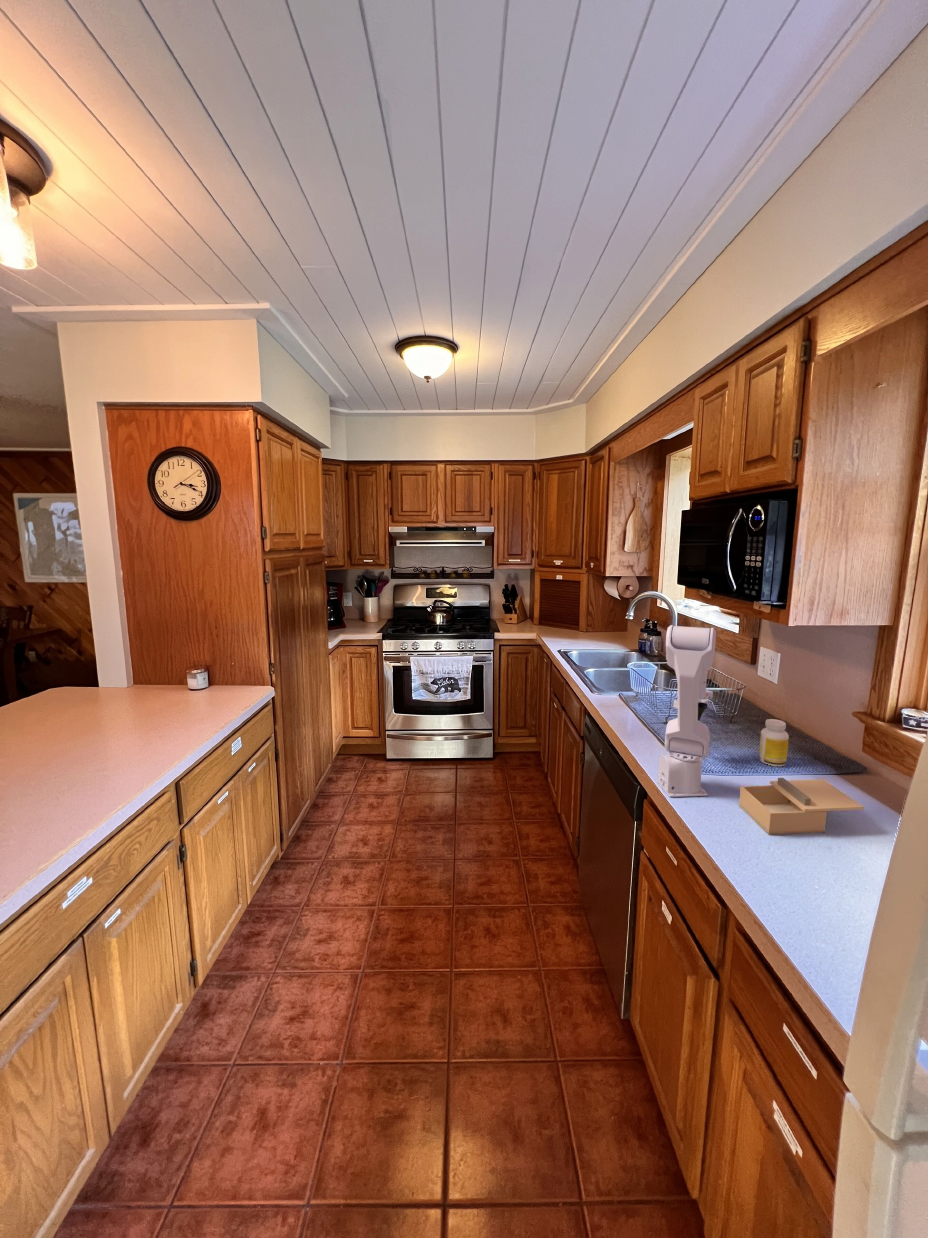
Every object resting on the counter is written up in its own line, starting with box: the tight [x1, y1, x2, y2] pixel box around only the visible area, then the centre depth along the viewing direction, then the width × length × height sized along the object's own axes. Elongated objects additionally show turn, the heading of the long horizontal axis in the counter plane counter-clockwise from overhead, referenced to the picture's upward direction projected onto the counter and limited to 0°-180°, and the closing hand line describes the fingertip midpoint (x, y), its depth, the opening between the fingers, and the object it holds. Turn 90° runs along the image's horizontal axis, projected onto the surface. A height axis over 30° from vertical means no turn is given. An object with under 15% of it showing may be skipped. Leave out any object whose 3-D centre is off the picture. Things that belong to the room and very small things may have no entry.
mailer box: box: [738, 784, 828, 836], centre depth 110 cm, size 12×11×5 cm
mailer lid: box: [769, 777, 865, 812], centre depth 109 cm, size 13×12×2 cm
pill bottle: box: [758, 718, 790, 768], centre depth 135 cm, size 6×6×12 cm
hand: (691, 727), depth 136 cm, fingers closed
